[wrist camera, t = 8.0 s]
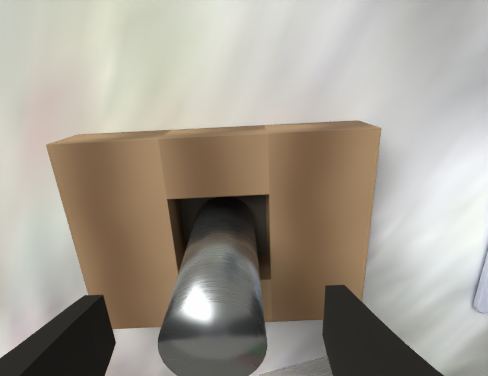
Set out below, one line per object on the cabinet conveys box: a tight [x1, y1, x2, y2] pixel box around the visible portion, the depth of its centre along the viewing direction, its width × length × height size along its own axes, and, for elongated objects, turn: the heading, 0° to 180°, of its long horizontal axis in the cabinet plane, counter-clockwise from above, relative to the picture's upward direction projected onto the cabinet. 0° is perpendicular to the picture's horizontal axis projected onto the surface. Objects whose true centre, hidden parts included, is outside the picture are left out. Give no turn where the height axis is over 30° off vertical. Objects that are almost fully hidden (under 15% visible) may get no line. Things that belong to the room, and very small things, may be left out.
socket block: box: [46, 121, 381, 329], centre depth 15 cm, size 14×10×2 cm
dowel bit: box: [158, 196, 267, 376], centre depth 12 cm, size 3×3×8 cm
